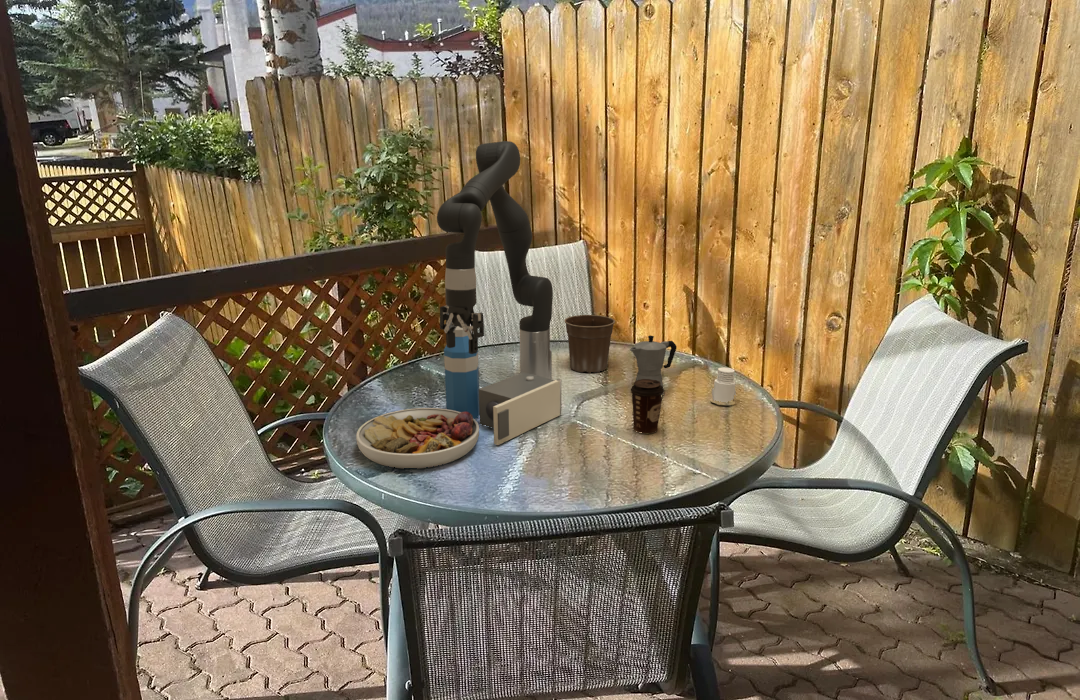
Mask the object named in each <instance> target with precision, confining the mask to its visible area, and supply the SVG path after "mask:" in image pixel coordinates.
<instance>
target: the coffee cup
mask: <svg viewBox="0 0 1080 700" xmlns="http://www.w3.org/2000/svg"><path fill="white" fill-rule="evenodd" d="M663 392H664V393H665V388H664V385H663V386H661V383H660V381H657V380H651V379H641V380H637V381H636V380H635V381H634V382H633V385H632V386H631V388H630V393H631V402H632V417H633V424H632V425H633V427H632V429H634V430H635V431H634V430H633V431H634V432H636V431H637V432H636V433H638V432H642V433H651V434H654V433H656V432H657V431H658V430H659V429H658V427H659V420H660V416H661V408H662V403H663V396H662V397H661V394H663ZM655 431H656V432H655ZM642 433H641V434H642Z"/></svg>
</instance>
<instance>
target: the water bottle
mask: <svg viewBox="0 0 1080 700" xmlns="http://www.w3.org/2000/svg"><path fill="white" fill-rule="evenodd" d="M454 333H455V347H453V348H448V347H447V344H446V345H445V347H444V349H443V357H444V358H443V360H444V361H443V362H444V382H445V383H444V384H445V385H444V386H445V406H446V407H445V409H448V410H454V411H458V412H469V413H471V415H472V416H473V419H475V418H477V419H479V418H480V414H479V389H480V377H479V376H480V375H479V374H480V373H479V350H478V351H477V353H475V354H469V337H468V335H467V333H466V332H465V331H464V330H463V328H460V327H459V326H457V327H456V329H455V331H454ZM475 420H476V419H475Z"/></svg>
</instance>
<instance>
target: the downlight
mask: <svg viewBox="0 0 1080 700" xmlns="http://www.w3.org/2000/svg"><path fill="white" fill-rule="evenodd" d="M716 376H717V377H716V379H714V384H713V385H714V386H713V387H712V388H711V396H712V398H713V400H714V401H715V400H716V401H719V402H720V401H721V402H728V401H731V400H733V399H735V398H734V395H735V396H737V392H736V381H735V379H734V378H735V369H733V368H730V367H718V368H717V374H716ZM712 398H711V399H712Z"/></svg>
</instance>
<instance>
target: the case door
mask: <svg viewBox="0 0 1080 700" xmlns="http://www.w3.org/2000/svg"><path fill="white" fill-rule="evenodd" d="M554 380H555V381H552V382H550V383H548V384H545V385H543V386H541V387H538V388H536V389H534V390H531V391H529V392H526V393H524V394H522V395H519V396H517V397H515V398H512V399H510V400H508V401H505V402H503V403H501V404H498V405H496V406H493V417H494V429H493V444H494V445H496V446H499V445H501V444H503V443H505V442H507V441H508V442H509V440H512V439H513V438H516V437H518V436H520V435H522V434H524V433H527V432H528V431H530V430H532V429H535V428H536V427H538V426H540V425H543V424H544V423H547V422H549V421H551V420H553V419H555V418H557V417H559V416H562V404H563V403H562V402H563V401H562V400H563V399H562V395H563V394H562V387H563V386H562V382H563V381H562V379H561V378H557V379H554Z"/></svg>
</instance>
